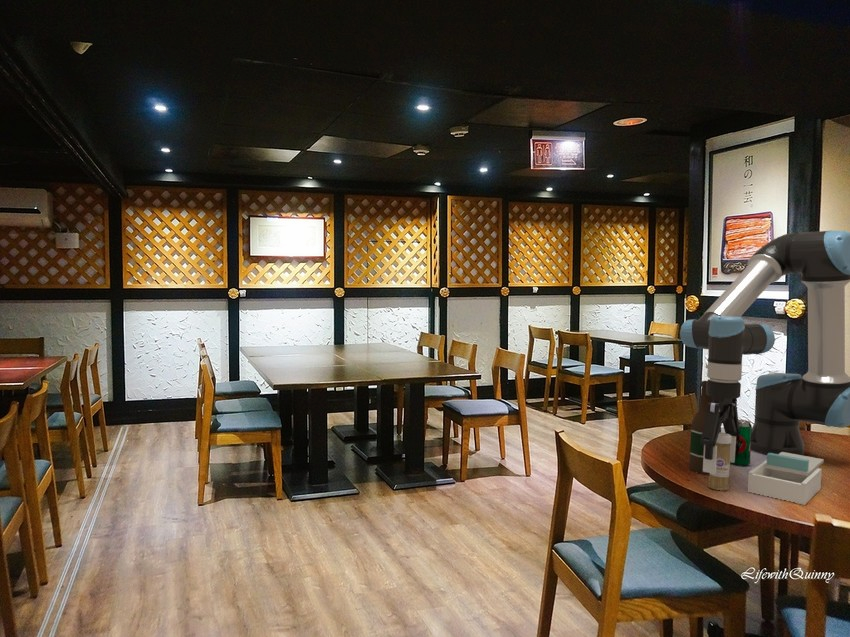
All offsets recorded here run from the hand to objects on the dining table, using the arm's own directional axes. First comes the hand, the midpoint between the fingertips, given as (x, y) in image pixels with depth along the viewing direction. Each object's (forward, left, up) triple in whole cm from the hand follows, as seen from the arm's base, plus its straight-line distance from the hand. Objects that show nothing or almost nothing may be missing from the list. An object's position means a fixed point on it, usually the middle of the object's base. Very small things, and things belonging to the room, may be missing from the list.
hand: (719, 466), depth 154 cm
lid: (-18, +12, -1) cm, 22 cm away
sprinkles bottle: (0, 0, -6) cm, 6 cm away
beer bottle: (-12, -8, -6) cm, 16 cm away
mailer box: (-10, +12, -5) cm, 17 cm away
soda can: (-26, -3, -6) cm, 27 cm away
